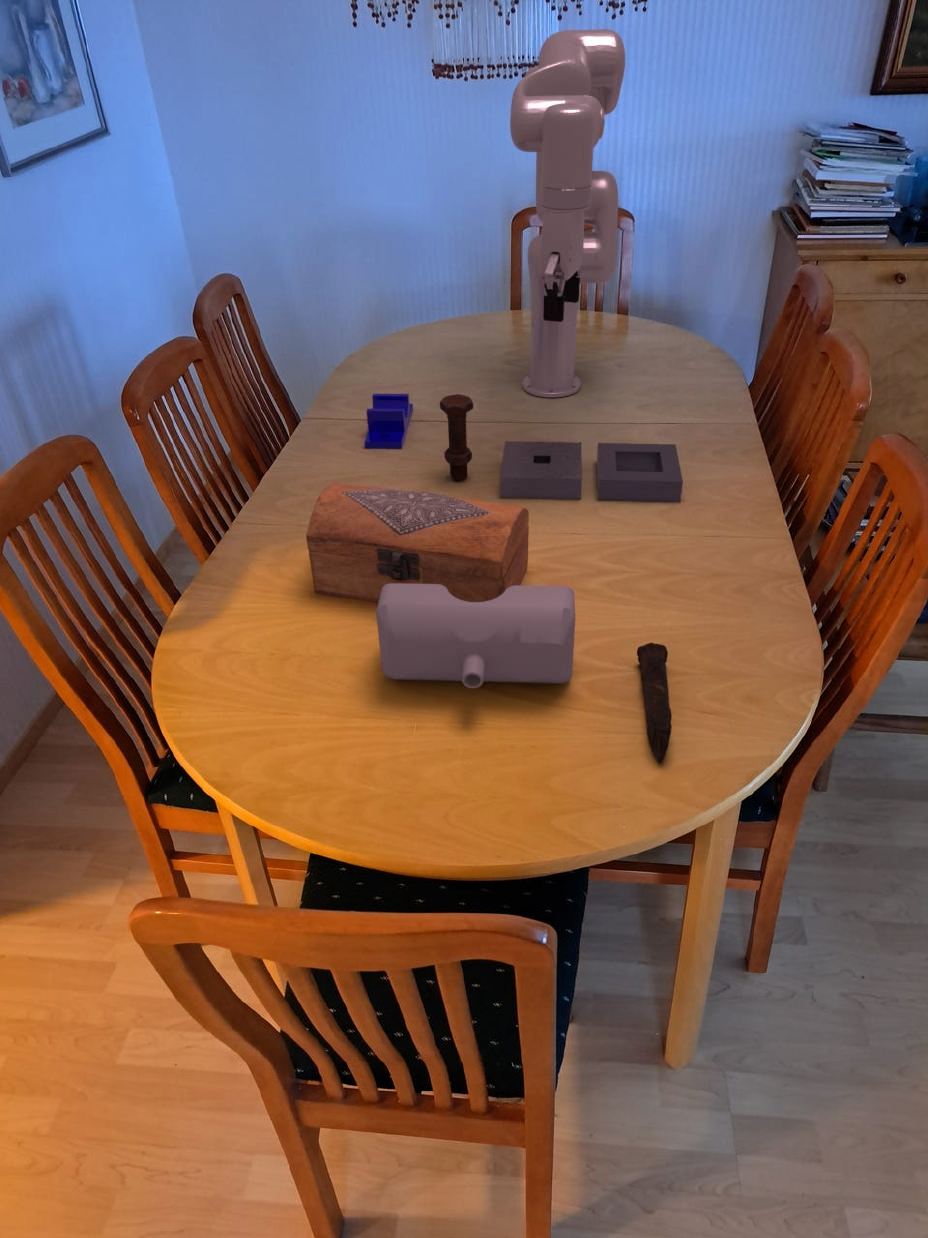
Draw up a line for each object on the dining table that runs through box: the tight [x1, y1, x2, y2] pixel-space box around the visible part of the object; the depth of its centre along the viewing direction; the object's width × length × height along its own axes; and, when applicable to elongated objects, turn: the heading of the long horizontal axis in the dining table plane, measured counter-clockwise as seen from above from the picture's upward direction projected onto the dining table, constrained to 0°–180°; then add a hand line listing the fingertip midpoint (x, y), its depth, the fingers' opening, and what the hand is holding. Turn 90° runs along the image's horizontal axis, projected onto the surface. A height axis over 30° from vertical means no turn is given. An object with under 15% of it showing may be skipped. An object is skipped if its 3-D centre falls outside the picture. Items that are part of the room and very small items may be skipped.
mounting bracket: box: [364, 393, 414, 450], centre depth 180 cm, size 18×7×6 cm, turn 176°
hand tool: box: [636, 642, 673, 764], centre depth 112 cm, size 19×4×5 cm, turn 172°
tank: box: [375, 583, 576, 689], centre depth 116 cm, size 25×16×12 cm, turn 86°
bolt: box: [439, 393, 474, 482], centre depth 159 cm, size 6×5×15 cm
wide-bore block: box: [595, 442, 684, 503], centre depth 160 cm, size 14×14×4 cm
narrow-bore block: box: [499, 440, 583, 501], centre depth 161 cm, size 14×14×4 cm
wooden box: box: [305, 482, 530, 604], centre depth 134 cm, size 30×16×14 cm, turn 73°
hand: (561, 310), depth 147 cm, fingers open, 9 cm apart
